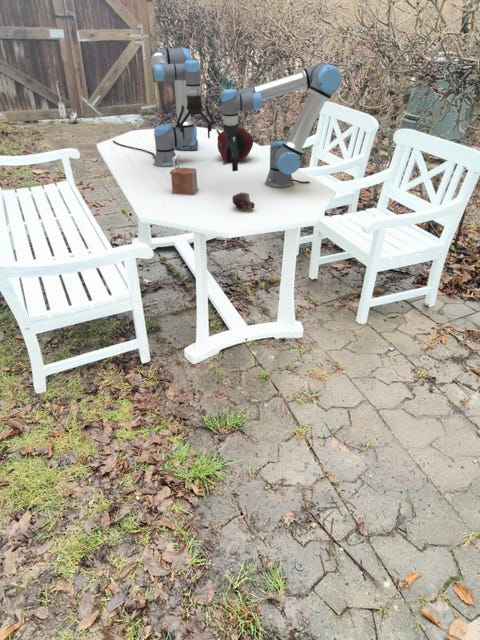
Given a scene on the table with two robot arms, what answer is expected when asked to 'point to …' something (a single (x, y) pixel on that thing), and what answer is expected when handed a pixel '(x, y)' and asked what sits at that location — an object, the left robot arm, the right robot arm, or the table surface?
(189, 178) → the chest
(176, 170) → the lid
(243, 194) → the rock
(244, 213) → the table surface
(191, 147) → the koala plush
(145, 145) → the table surface
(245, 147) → the decorative skull
